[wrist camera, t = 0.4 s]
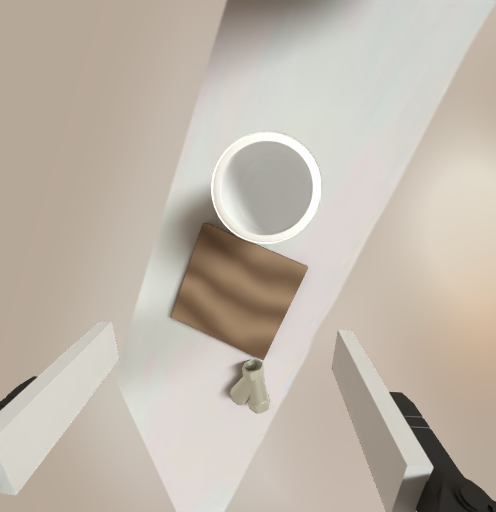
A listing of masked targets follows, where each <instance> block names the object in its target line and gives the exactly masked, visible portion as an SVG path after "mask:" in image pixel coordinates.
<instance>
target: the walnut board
mask: <svg viewBox="0 0 496 512" xmlns="http://www.w3.org/2000/svg"><path fill="white" fill-rule="evenodd" d="M307 269H308V267H307V266H306V265H303V264H301V263H299V262H296V261H294V260H292V259H289V258H287V257H285V256H282V255H280V254H278V253H275V252H273V251H271V250H268V249H266V248H264V247H261V246H259V245H257V244H254V243H252V242H250V241H247V240H245V239H242V238H240V237H238V236H236V235H233V234H231V233H229V232H226V231H224V230H222V229H219V228H217V227H215V226H212V225H210V224H208V223H203V225H202V228H201V231H200V234H199V237H198V240H197V242H196V245H195V248H194V251H193V254H192V257H191V260H190V263H189V266H188V269H187V272H186V275H185V278H184V280H183V283H182V286H181V289H180V292H179V295H178V298H177V301H176V304H175V307H174V310H173V313H172V316H171V317H172V318H174V319H176V320H179V321H181V322H183V323H185V324H187V325H189V326H191V327H193V328H196V329H198V330H200V331H202V332H204V333H206V334H208V335H210V336H212V337H215V338H217V339H219V340H221V341H223V342H225V343H227V344H229V345H232V346H234V347H236V348H238V349H240V350H242V351H244V352H246V353H249V354H251V355H253V356H255V357H257V358H259V359H261V360H264V358H265V356H266V354H267V352H268V350H269V348H270V346H271V344H272V342H273V340H274V337H275V335H276V333H277V331H278V329H279V327H280V325H281V323H282V321H283V319H284V317H285V315H286V313H287V311H288V309H289V307H290V304H291V302H292V300H293V298H294V296H295V294H296V292H297V290H298V288H299V286H300V284H301V282H302V280H303V278H304V276H305V274H306V272H307Z"/></svg>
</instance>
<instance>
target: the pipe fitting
mask: <svg viewBox="0 0 496 512" xmlns="http://www.w3.org/2000/svg"><path fill="white" fill-rule="evenodd" d="M242 373H243V377H242V378H241V379H240V380H239V381H238V382H237V383H236V384H235V385H234V386H233V388H232V389H231V391H230V395H231V398H232V400H233V402H235V403H236V404H238V405H242V404H244V403H245V402H246V401H247V400H248V399H249V400H248V404H249V409H251V410H252V411H253V412H255V413H257V414H258V413H262V412H264V411H266V410H268V407H269V402H270V400H269V395H268V394H267V391H266V386H265V380H264V374H263V373H264V366H263V362H261V361H259V360H255V359H254V360H249V361H247V362H245V363H244V365H243V367H242Z"/></svg>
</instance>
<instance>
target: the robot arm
mask: <svg viewBox="0 0 496 512" xmlns="http://www.w3.org/2000/svg"><path fill="white" fill-rule="evenodd" d="M118 361H119V355H118V350H117V345H116V340H115V335H114V331H113V325H112V322H109V321H108V322H107V321H99V322H98V323H96V324H95V326H93V327H92V328H91V329H90V330H89V331H88V332H87V333H85V334H84V335H83V336H82V337H81V338H80V339H79V340H78V341H77V342H76V343H74V344H73V345H72V346H71V347H70V348H69V349H68V350H67V351H66V352H65V353H64V354H62V355H61V356H60V357H59V358H58V359H57V360H56V361H55V362H54V363H52V364H51V365H50V366H49V367H48V368H47V369H46V370H45V371H44V372H43V373H41V374H40V375H39V376H38V377H35V376H34V377H32V378H30V379H29V380H27V381H25V382H24V383H22V384H20V385H19V386H18V387H16V388H15V389H14V390H13V391H12V392H11V393H10V394H8V395H7V397H6V398H5V399H3V400H2V401H0V494H13V495H17V493H18V492H19V491H20V490H21V488H22V487H23V486H24V484H25V483H26V482H27V480H28V479H29V478H30V476H31V475H32V474H33V472H34V471H35V470H36V468H37V467H38V466H39V464H40V463H41V462H42V461H43V459H44V458H45V457H46V455H47V454H48V453H49V451H50V450H51V449H52V447H53V446H54V445H55V443H56V442H57V441H58V440H59V438H60V437H61V436H62V434H63V433H64V432H65V430H66V429H67V428H68V426H69V425H70V424H71V422H72V421H73V420H74V419H75V417H76V416H77V415H78V413H79V412H80V411H81V409H82V408H83V407H84V405H85V404H86V403H87V401H88V400H89V399H90V397H91V396H92V395H93V394H94V392H95V391H96V390H97V388H98V387H99V386H100V384H101V383H102V382H103V380H104V379H105V377H106V376H107V375H108V374H109V372H110V371H111V370H112V369H113V367H114V366H115V365H116V363H117V362H118ZM332 370H333V373H334V375H335V378H336V381H337V383H338V386H339V389H340V391H341V394H342V397H343V399H344V402H345V405H346V407H347V410H348V412H349V415H350V417H351V420H352V423H353V426H354V428H355V431H356V434H357V436H358V439H359V442H360V444H361V447H362V450H363V452H364V455H365V457H366V460H367V463H368V465H369V468H370V471H371V473H372V476H373V478H374V481H375V484H376V487H377V489H378V492H379V495H380V497H381V500H382V503H383V505H384V508H385V511H386V512H416V511H417V512H496V502H495V501H493V500H492V499H491V498H490V497H489V496H488V495H487V494H486V493H485V492H484V491H483V490H482V489H481V488H480V487H478V486H477V485H476V484H474V483H473V482H472V481H470V480H468V479H466V478H464V476H463V475H462V474H461V472H460V471H459V470H458V468H457V467H456V465H455V464H454V462H453V461H452V459H451V458H450V456H449V455H448V453H447V452H446V451H445V449H444V448H443V446H442V445H441V443H440V442H439V440H438V439H437V437H436V436H435V434H434V433H433V431H432V430H431V429H430V428H429V425H428V424H427V422H426V421H425V420H424V419H423V418H422V415H421V414H420V412H419V411H418V409H417V408H416V406H415V405H414V403H413V402H411V401H410V400H409V399H408V398H407V397H406V396H405V395H404V394H403V393H399V392H388V390H387V389H386V387H385V385H384V384H383V382H382V380H381V378H380V377H379V375H378V373H377V372H376V370H375V368H374V367H373V365H372V363H371V362H370V360H369V358H368V357H367V355H366V353H365V352H364V350H363V349H362V347H361V345H360V343H359V342H358V340H357V339H356V337H355V335H354V333H353V332H352V330H338V332H337V339H336V345H335V352H334V358H333V364H332Z"/></svg>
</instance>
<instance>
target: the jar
mask: <svg viewBox="0 0 496 512" xmlns="http://www.w3.org/2000/svg"><path fill="white" fill-rule="evenodd" d="M211 193H212V200H213V204H214V207H215V210H216V212H217V214H218V216H219V218H220V219H221V221H222V222H223V224H224V225H225V226H226V227H227V228H228V229H229V230H230V231H231V232H233V233H234V234H235V235H237V236H239V237H240V238H242V239H245V240H247V241H250V242H254V243H261V244H271V243H277V242H281V241H284V240H287V239H289V238H291V237H293V236H295V235H296V234H298V233H299V232H300V231H302V230H303V229H304V228H305V227H306V226H307V225H308V224H309V223H310V221H311V220H312V219H313V217H314V215H315V214H316V212H317V210H318V207H319V204H320V201H321V196H322V177H321V173H320V169H319V166H318V164H317V162H316V160H315V158H314V156H313V155H312V153H311V152H310V151H309V150H308V149H307V147H305V146H304V145H303V144H302V143H301V142H300V141H298V140H297V139H295V138H293V137H291V136H289V135H286V134H283V133H279V132H273V131H263V132H256V133H252V134H249V135H247V136H244V137H242V138H240V139H239V140H237V141H236V142H234V143H233V144H232V145H231V146H230V147H229V148H228V149H227V150H226V151H225V152H224V153H223V154H222V156H221V157H220V159H219V161H218V163H217V165H216V167H215V170H214V173H213V177H212V184H211Z"/></svg>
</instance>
